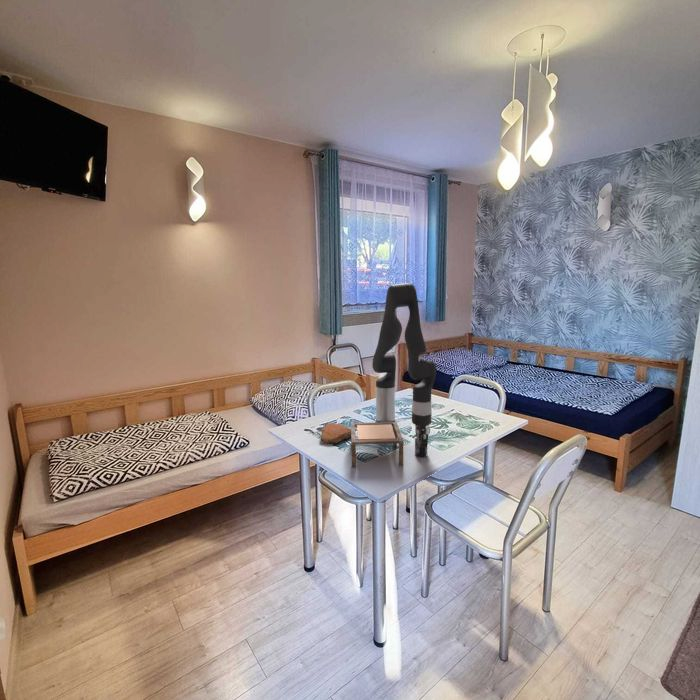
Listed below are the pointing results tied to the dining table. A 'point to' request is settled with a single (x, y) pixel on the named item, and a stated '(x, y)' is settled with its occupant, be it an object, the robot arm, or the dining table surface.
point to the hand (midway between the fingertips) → (421, 452)
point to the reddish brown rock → (335, 433)
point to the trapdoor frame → (393, 441)
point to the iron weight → (418, 448)
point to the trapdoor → (375, 432)
